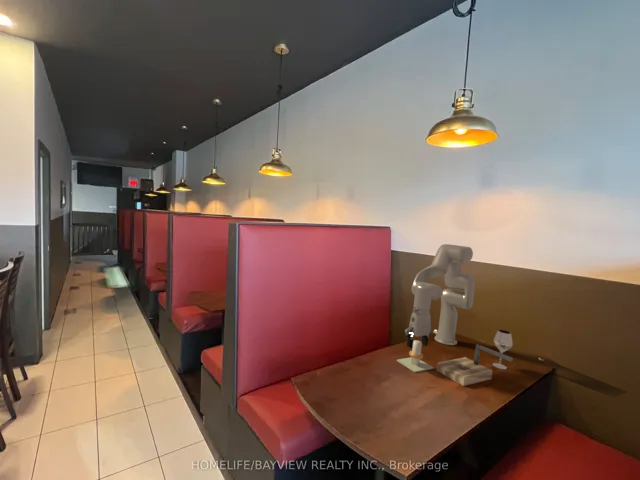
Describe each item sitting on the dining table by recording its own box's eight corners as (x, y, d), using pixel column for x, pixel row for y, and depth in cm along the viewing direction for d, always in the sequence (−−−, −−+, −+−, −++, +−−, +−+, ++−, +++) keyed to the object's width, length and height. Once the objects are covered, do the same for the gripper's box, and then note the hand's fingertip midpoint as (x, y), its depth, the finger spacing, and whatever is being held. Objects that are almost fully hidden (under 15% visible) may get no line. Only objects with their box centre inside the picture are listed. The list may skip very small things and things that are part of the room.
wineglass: (504, 364, 160) (508, 330, 159) (512, 371, 152) (517, 335, 151) (487, 361, 161) (492, 328, 160) (495, 369, 153) (499, 333, 152)
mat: (396, 360, 150) (396, 359, 150) (414, 357, 156) (414, 356, 156) (415, 372, 140) (415, 371, 140) (433, 368, 146) (433, 367, 146)
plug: (405, 361, 149) (407, 340, 149) (414, 359, 152) (417, 338, 152) (415, 367, 144) (417, 345, 143) (424, 365, 147) (427, 343, 146)
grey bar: (472, 363, 147) (475, 344, 146) (475, 362, 148) (477, 344, 147) (508, 379, 133) (511, 359, 133) (510, 378, 135) (513, 358, 134)
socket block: (436, 370, 144) (437, 362, 144) (464, 364, 154) (465, 357, 154) (463, 386, 132) (464, 377, 132) (491, 378, 142) (492, 370, 141)
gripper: (413, 314, 139) (409, 351, 140) (440, 312, 148) (435, 347, 149) (402, 309, 146) (398, 344, 147) (427, 307, 154) (423, 341, 155)
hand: (417, 345), depth 148 cm, fingers open, 9 cm apart
